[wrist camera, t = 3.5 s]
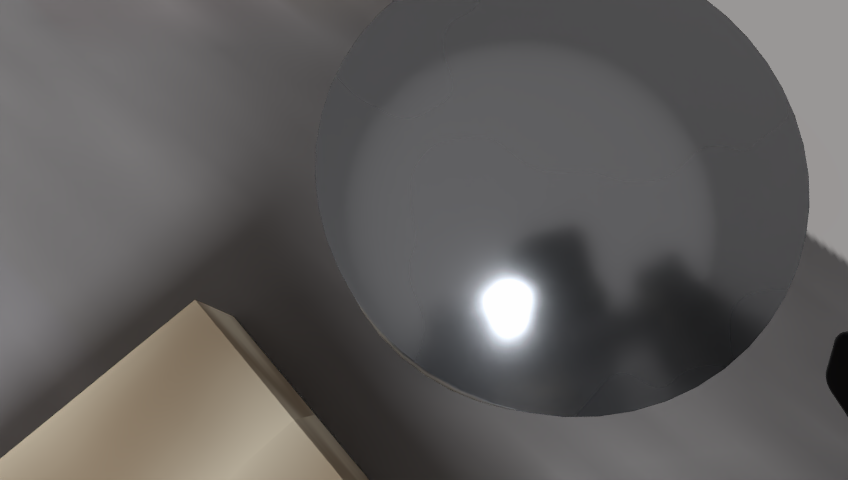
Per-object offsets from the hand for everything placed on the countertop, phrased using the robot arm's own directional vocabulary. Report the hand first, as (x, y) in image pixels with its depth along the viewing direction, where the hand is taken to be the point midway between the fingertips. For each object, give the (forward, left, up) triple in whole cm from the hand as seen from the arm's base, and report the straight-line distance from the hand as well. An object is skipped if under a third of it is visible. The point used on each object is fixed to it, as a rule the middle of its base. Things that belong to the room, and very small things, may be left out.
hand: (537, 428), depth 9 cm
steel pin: (+2, -1, -10) cm, 10 cm away
